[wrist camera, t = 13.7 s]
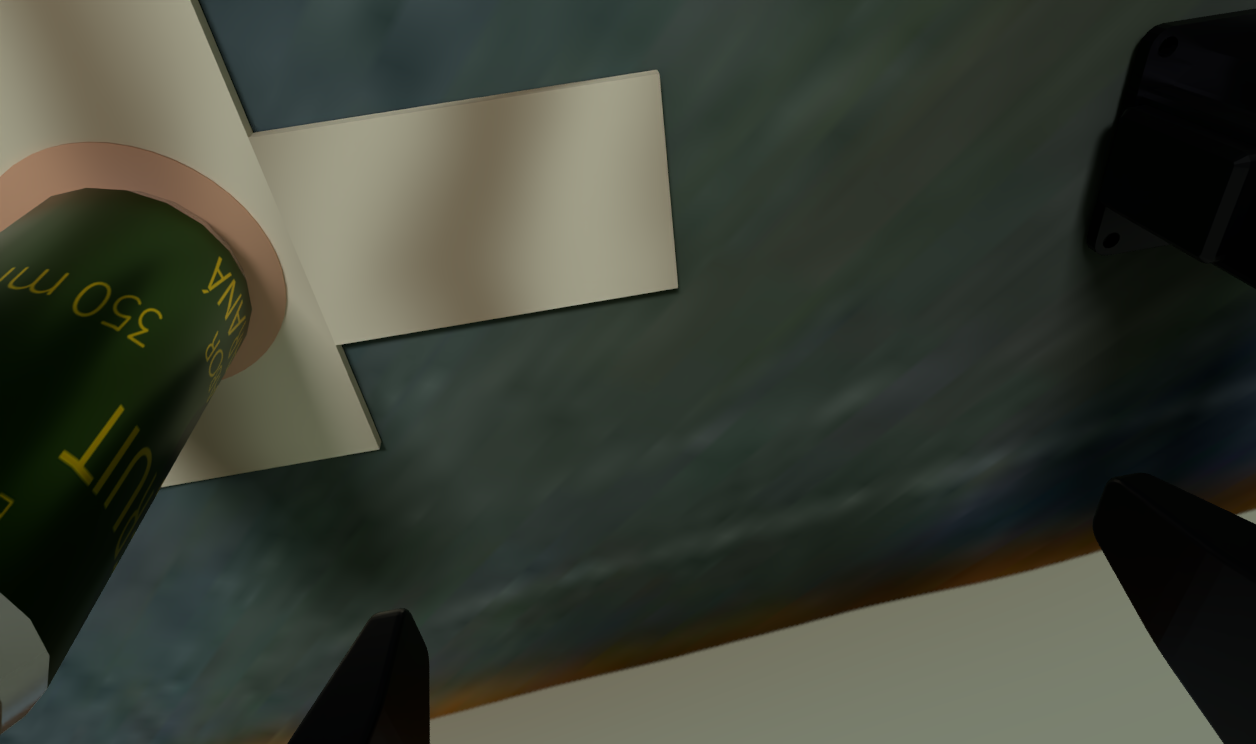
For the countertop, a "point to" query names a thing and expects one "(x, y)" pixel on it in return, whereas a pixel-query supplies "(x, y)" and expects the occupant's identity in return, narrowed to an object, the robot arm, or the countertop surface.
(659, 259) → the t plate
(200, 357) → the beer can
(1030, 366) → the countertop surface
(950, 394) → the countertop surface
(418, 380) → the countertop surface
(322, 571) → the countertop surface
